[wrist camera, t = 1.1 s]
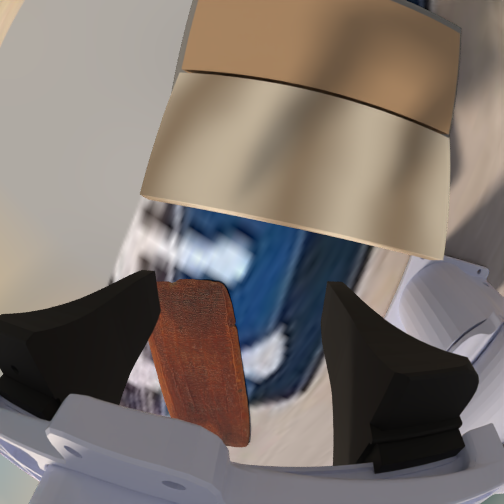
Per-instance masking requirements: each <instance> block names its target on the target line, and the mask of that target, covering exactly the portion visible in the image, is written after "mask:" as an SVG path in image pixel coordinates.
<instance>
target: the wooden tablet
mask: <svg viewBox="0 0 504 504" xmlns="http://www.w3.org/2000/svg"><path fill="white" fill-rule="evenodd" d="M157 289H158V295H159V302H160V307H161V313H160V315H159V318H158V321H157V323H156V326H155V328H154V330H153V332H152V334H151V336H150V338H149V340H148V341H149V345H150V349H151V352H152V356H153V360H154V364H155V368H156V371H157V375H158V379H159V383H160V386H161V390H162V393H163V396H164V399H165V402H166V405H167V408H168V411H169V413H170V416H171V418H175V419H179V420H183V421H186V422H189V423H193V424H196V425H199V426H202V427H203V428H205V429H207V430H208V431H210V432H212V433H214V434H215V435H217V436H218V437H219V438H220V439H221V440H222V441H223V443H224V444H225V446H232V447H246V446H247V445H248V443H249V435H250V431H249V429H250V428H249V426H250V424H249V411H248V401H247V395H246V388H245V381H244V374H243V367H242V360H241V354H240V347H239V341H238V334H237V328H236V326H235V318H234V312H233V307H232V303H231V299H230V297H229V294H228V292H227V289H226V288H225V286H224V285H223V284H222V283H220V282H212V281H209V280H195V279H180V280H177V281H176V282H174V283H171V282H157Z"/></svg>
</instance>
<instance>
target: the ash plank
mask: <svg viewBox="0 0 504 504" xmlns="http://www.w3.org/2000/svg"><path fill="white" fill-rule="evenodd" d="M140 195H142V196H143V197H145V198H147V199H149V200H154V201H160V202H165V203H171V204H177V205H182V206H188V207H193V208H198V209H204V210H209V211H214V212H219V213H224V214H229V215H235V216H240V217H245V218H249V219H254V220H259V221H264V222H269V223H274V224H278V225H283V226H288V227H293V228H297V229H302V230H306V231H311V232H315V233H320V234H324V235H329V236H333V237H338V238H342V239H346V240H350V241H355V242H359V243H363V244H367V245H372V246H376V247H380V248H384V249H388V250H392V251H396V252H400V253H404V254H408V255H412V256H416V257H420V258H424V259H428V260H443V258H444V251H445V243H446V234H447V224H448V212H449V195H450V138H448V137H446V136H443V135H441V134H439V133H437V132H434V131H432V130H430V129H428V128H425V127H423V126H420V125H418V124H416V123H413V122H411V121H408V120H405V119H403V118H400V117H397V116H395V115H392V114H389V113H386V112H384V111H381V110H378V109H375V108H372V107H369V106H366V105H362V104H359V103H356V102H352V101H349V100H346V99H342V98H338V97H335V96H331V95H327V94H323V93H319V92H315V91H311V90H306V89H302V88H297V87H292V86H287V85H282V84H277V83H271V82H265V81H259V80H253V79H246V78H238V77H230V76H221V75H210V74H198V73H179V75H178V78H177V80H176V83H175V85H174V88H173V91H172V93H171V96H170V99H169V101H168V104H167V107H166V110H165V113H164V115H163V118H162V121H161V125H160V128H159V130H158V133H157V136H156V139H155V143H154V146H153V150H152V152H151V156H150V159H149V163H148V166H147V170H146V173H145V177H144V181H143V184H142V188H141V192H140Z"/></svg>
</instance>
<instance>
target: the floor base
mask: <svg viewBox="0 0 504 504" xmlns="http://www.w3.org/2000/svg"><path fill="white" fill-rule="evenodd" d="M460 47H461V28H460V27H458V26H457V25H455V24H453V23H451V22H449V21H448V20H446V19H444V18H442V17H440V16H438V15H436V14H434V13H432V12H430V11H428V10H426V9H424V8H422V7H420V6H417V5H415V4H413V3H411V2H408V1H406V0H193V1H192V5H191V8H190V12H189V16H188V20H187V23H186V28H185V32H184V36H183V40H182V44H181V48H180V53H179V57H178V62H177V66H176V72H175V77H174V82H173V87H172V91H173V88H174V85H175V83H176V80H177V78H178V75H179V73H198V74H210V75H221V76H230V77H238V78H246V79H253V80H259V81H265V82H271V83H277V84H282V85H287V86H292V87H297V88H302V89H306V90H311V91H315V92H319V93H323V94H327V95H331V96H335V97H338V98H342V99H346V100H349V101H352V102H356V103H359V104H362V105H366V106H369V107H372V108H375V109H378V110H381V111H384V112H386V113H389V114H392V115H395V116H397V117H400V118H403V119H405V120H408V121H411V122H413V123H416V124H418V125H420V126H423V127H425V128H428V129H430V130H432V131H434V132H437V133H439V134H441V135H443V136H446V137H448V138H449V136H450V131H451V125H452V120H453V114H454V107H455V100H456V93H457V85H458V75H459V64H460ZM171 93H172V92H171Z"/></svg>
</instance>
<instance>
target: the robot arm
mask: <svg viewBox="0 0 504 504" xmlns="http://www.w3.org/2000/svg"><path fill="white" fill-rule="evenodd" d="M478 270H479V271H478ZM477 271H478V272H477ZM488 275H489V269H488V268H486V267H483V266H480V265H477V264H473V263H470V262H467V261H463V260H460V259H456V258H453V257H450V256H446V255H444V258H443V260H428V259H424V258H420V257H416V256H412V255H411V256H410V259H409V261H408V264H407V266H406V269H405V271H404V274H403V276H402V279H401V281H400V284H399V286H398V288H397V291H396V293H395V295H394V297H393V300H392V302H391V304H390V306H389V308H388V311H387V313H386V315H385V317H384V318H383V317H381V316H380V315H379V314H377V313H376V312H375V311H374V310H373V309H371V308H370V307H369V306H368V305H367V304H366V303H365V302H363V301H362V300H361V299H360V298H359V297H358V296H357V295H356V294H355V293H354V292H353V291H352V290H351V289H349V288H348V287H347V286H346V285H345V284H344V283H343V282H329V281H327V288H326V294H325V300H324V307H323V313H322V318H321V334H322V344H323V349H324V354H325V359H326V364H327V369H328V374H329V379H330V384H331V391H332V403H333V429H334V447H333V466H322V467H276V466H257V465H245V464H239V463H235V462H231V461H230V458H229V450H228V449H227V447H226V446H225V444H224V443H223V441H222V440H221V439H220V438H219V437H218V436H217V435H215V434H214V433H212V432H210V431H208V430H207V429H205V428H203V427H202V426H199V425H196V424H193V423H189V422H186V421H183V420H179V419H175V418H170V417H165V416H160V415H156V414H151V413H147V412H143V411H139V410H135V409H131V408H127V407H123V406H120V405H119V403H120V400H121V397H122V394H123V391H124V388H125V386H126V383H127V381H128V378H129V375H130V373H131V371H132V369H133V367H134V365H135V363H136V361H137V359H138V357H139V356H140V354H141V352H142V350H143V349H144V347H145V345H146V343H147V341H148V340H149V338H150V336H151V334H152V332H153V330H154V328H155V326H156V323H157V321H158V318H159V315H160V313H161V307H160V302H159V295H158V289H157V282H156V276H155V271H146V270H141V271H138V272H136V273H133V274H131V275H129V276H127V277H125V278H123V279H121V280H119V281H117V282H115V283H113V284H111V285H109V286H107V287H105V288H103V289H101V290H98V291H96V292H94V293H92V294H90V295H87V296H85V297H83V298H81V299H78V300H75V301H72V302H69V303H66V304H63V305H59V306H55V307H52V308H48V309H43V310H38V311H32V312H26V313H14V314H2V315H0V369H1V371H2V372H3V375H2V376H1V377H0V454H2V455H3V456H4V457H6V458H7V459H8V460H10V461H11V462H12V463H14V464H15V465H16V466H18V467H19V468H21V469H22V470H23V471H25V472H26V473H27V474H29V475H30V476H32V477H33V478H35V479H36V480H38V481H39V484H38V486H37V488H36V490H35V492H34V494H33V496H32V498H31V500H30V502H29V504H480V503H481V502H483V501H484V500H486V499H487V498H489V497H490V496H491V495H493V494H500V493H501V494H502V493H504V444H503V443H504V297H503V296H502V295H501V294H500V293H499V292H498V291H497V290H496V289H495V288H494V287H493V286H492V285H491V284H490V283H489V282H488V281H487V280H486V279H487V277H488ZM502 444H503V445H502Z"/></svg>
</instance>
